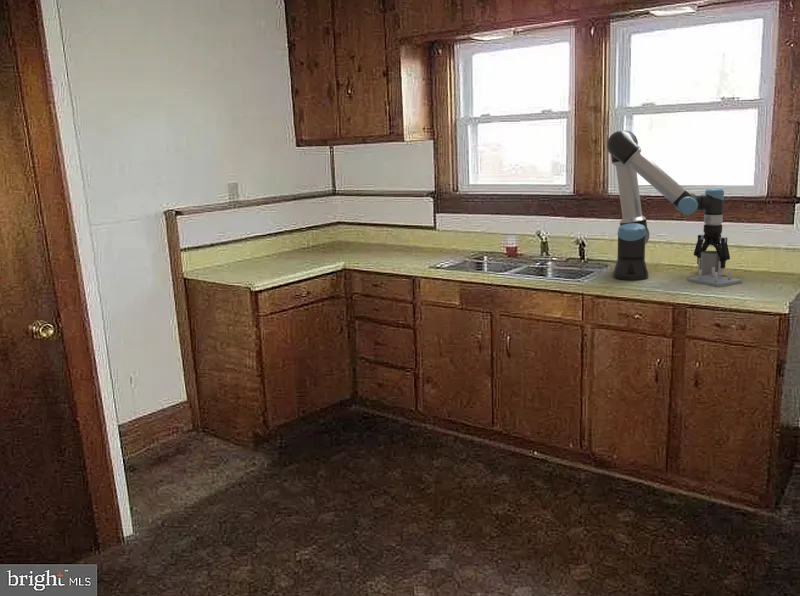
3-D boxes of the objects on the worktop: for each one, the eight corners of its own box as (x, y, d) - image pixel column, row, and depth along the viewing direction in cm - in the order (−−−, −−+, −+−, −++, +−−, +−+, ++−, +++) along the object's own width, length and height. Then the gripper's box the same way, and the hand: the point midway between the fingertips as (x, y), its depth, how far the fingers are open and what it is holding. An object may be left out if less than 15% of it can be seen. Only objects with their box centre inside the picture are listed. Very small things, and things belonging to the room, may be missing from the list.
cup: (710, 276, 311) (712, 254, 309) (696, 274, 319) (697, 252, 317) (724, 274, 315) (726, 252, 312) (710, 271, 322) (711, 250, 320)
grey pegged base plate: (687, 281, 305) (687, 269, 304) (710, 277, 311) (710, 265, 310) (718, 287, 291) (719, 274, 290) (741, 282, 297) (742, 270, 296)
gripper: (686, 222, 320) (684, 271, 325) (729, 227, 300) (726, 278, 305) (698, 221, 323) (695, 269, 328) (741, 225, 303) (738, 276, 308)
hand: (710, 273), depth 317 cm, fingers open, 10 cm apart
